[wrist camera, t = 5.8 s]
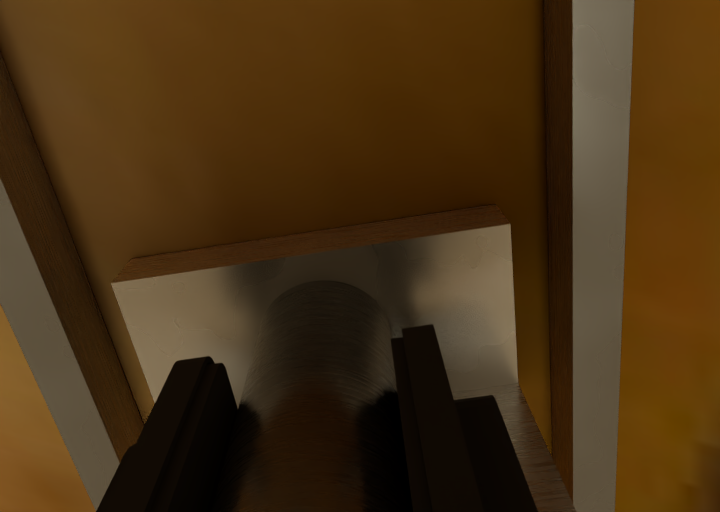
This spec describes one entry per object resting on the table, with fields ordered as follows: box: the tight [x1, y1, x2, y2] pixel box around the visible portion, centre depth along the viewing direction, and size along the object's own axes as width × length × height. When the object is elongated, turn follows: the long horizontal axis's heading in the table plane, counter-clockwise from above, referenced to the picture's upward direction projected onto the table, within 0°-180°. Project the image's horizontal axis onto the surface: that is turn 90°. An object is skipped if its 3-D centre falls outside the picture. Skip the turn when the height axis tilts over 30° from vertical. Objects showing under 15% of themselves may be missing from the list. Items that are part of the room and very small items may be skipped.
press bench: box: [0, 0, 634, 512], centre depth 11 cm, size 20×12×7 cm, turn 9°
